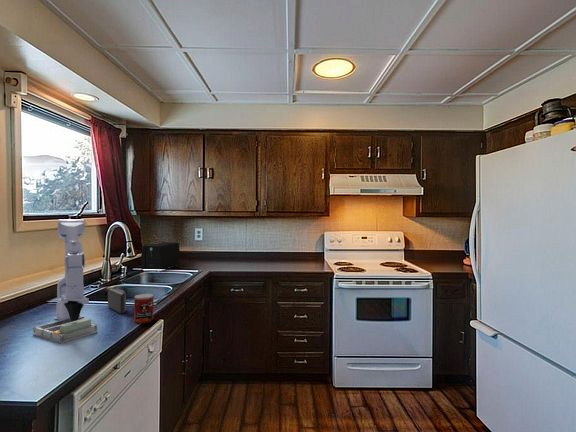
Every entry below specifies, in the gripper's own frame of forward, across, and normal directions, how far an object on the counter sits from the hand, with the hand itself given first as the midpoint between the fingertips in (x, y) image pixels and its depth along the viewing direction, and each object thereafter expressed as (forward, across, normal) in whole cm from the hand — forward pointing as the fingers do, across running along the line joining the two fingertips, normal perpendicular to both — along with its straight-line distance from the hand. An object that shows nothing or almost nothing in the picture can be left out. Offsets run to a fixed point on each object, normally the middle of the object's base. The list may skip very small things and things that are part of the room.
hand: (74, 320), depth 136 cm
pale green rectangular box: (+5, 0, 0) cm, 5 cm away
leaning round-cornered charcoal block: (+6, -17, +30) cm, 35 cm away
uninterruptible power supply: (+6, -91, +127) cm, 156 cm away
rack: (+6, -6, 0) cm, 8 cm away
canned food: (+6, +7, +26) cm, 28 cm away
